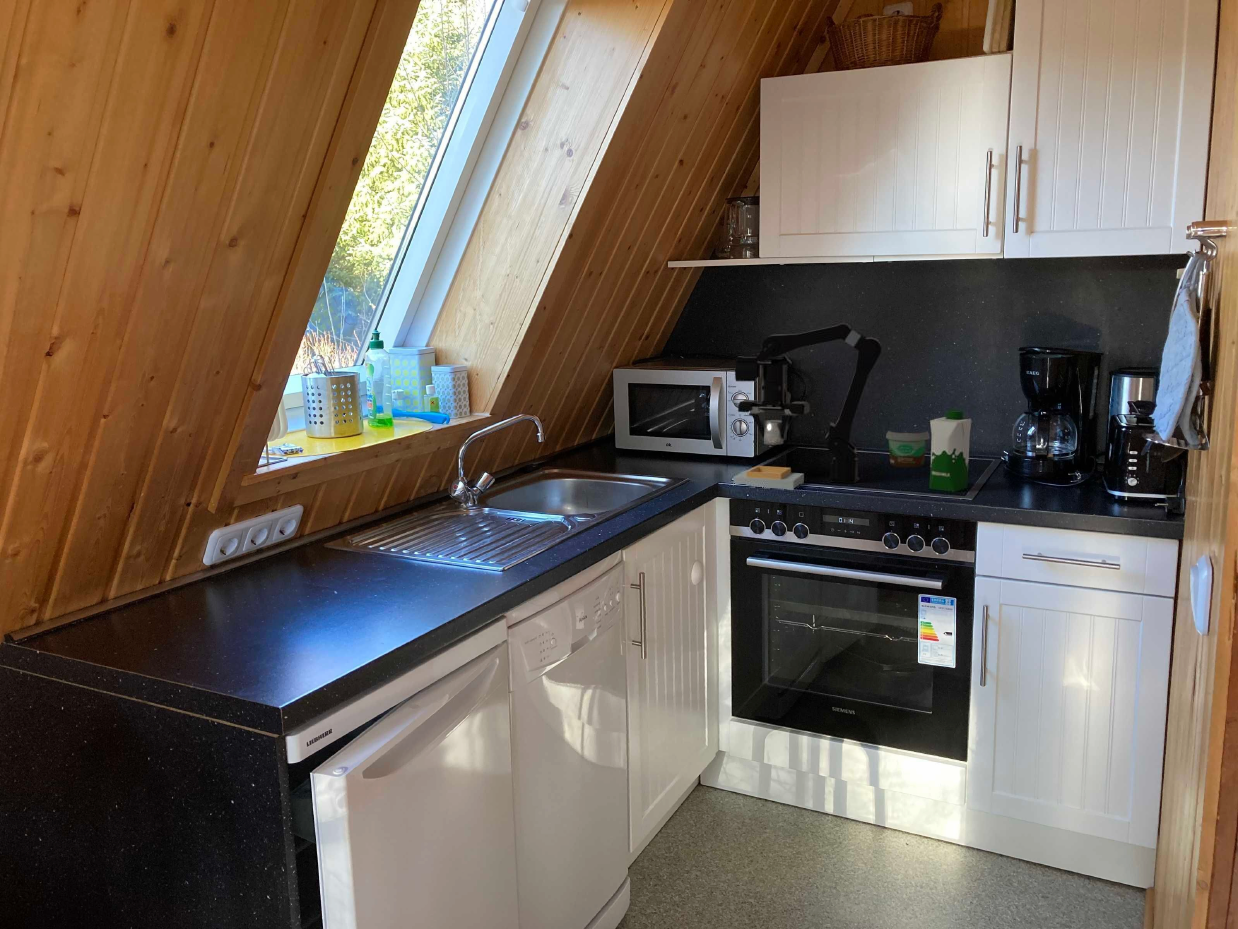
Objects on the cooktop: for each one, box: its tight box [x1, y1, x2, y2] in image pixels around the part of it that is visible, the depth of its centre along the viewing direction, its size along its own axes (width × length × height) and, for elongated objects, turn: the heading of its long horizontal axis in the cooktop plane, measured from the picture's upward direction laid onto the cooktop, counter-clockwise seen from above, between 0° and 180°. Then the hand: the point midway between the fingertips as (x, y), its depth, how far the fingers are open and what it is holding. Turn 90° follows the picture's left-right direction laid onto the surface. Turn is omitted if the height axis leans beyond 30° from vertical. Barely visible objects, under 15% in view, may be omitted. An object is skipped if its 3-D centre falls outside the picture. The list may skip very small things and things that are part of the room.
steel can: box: [763, 419, 784, 446], centre depth 275 cm, size 5×5×6 cm
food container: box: [885, 430, 930, 468], centre depth 291 cm, size 12×6×10 cm, turn 80°
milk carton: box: [928, 409, 972, 493], centre depth 258 cm, size 9×9×20 cm
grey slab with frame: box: [733, 465, 805, 491], centre depth 270 cm, size 16×10×4 cm, turn 65°
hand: (773, 438), depth 275 cm, fingers closed on steel can, 5 cm apart
